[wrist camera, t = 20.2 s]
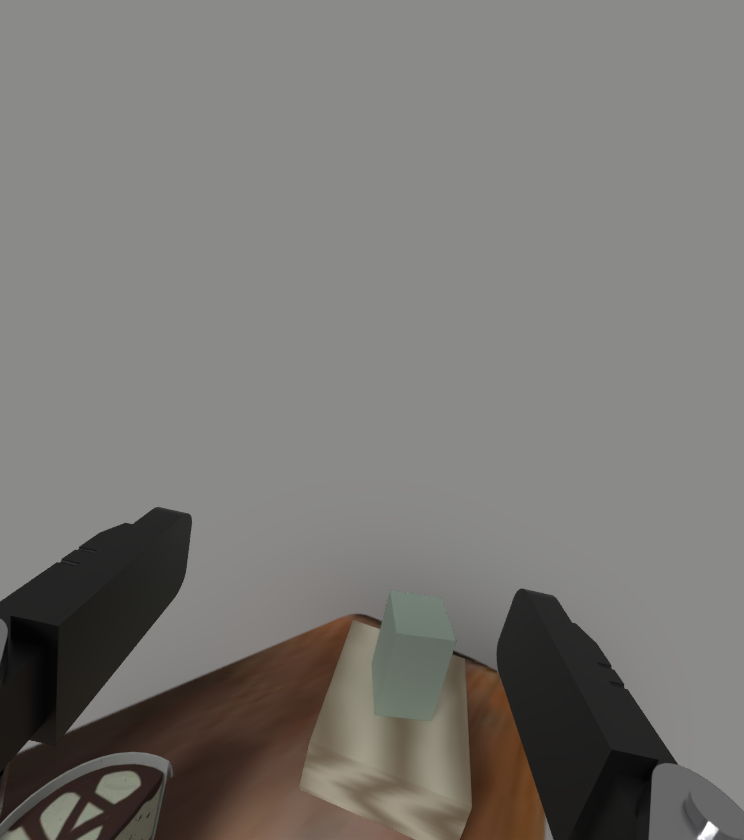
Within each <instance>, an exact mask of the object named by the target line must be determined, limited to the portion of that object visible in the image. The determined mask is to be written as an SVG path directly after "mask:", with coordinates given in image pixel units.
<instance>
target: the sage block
mask: <svg viewBox="0 0 744 840" xmlns="http://www.w3.org/2000/svg"><path fill="white" fill-rule="evenodd" d="M455 644H456V638H455V635H454V632H453V629H452V626H451V623H450V620H449V617H448V614H447V611H446V608H445V605H444V602H443V599H442V597H434V596H427V595H421V594H413V593H407V592H400V591H392V590H390V593H389V597H388V601H387V604H386V608H385V612H384V616H383V620H382V624H381V628H380V632H379V636H378V640H377V644H376V648H375V652H374V656H373V660H372V680H373V697H374V713H375V715H378V716H387V717H396V718H406V719H415V720H424V721H432V717H433V714H434V711H435V708H436V705H437V701H438V698H439V695H440V692H441V689H442V685H443V682H444V679H445V676H446V673H447V669H448V666H449V663H450V660H451V657H452V653H453V650H454V647H455Z"/></svg>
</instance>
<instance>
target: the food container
mask: <svg viewBox="0 0 744 840" xmlns="http://www.w3.org/2000/svg"><path fill="white" fill-rule="evenodd" d="M167 776H168V777H170V778H172V776H173V769H172V764H170V761H168V760H166V759H164V758H162V757H160V756H156V755H152V754H149V753H140V752H126V753H116V754H112V755H107V756H103V757H100V758H97V759H94V760H91V761H88V762H86V763H83V764H81V765H79V766H77V767H75V768H73V769H71V770H69V771H67V772H65V773H64V774H62V775H60V776H59V777H57V778H55V779H54V780H52V781H50V782H49V783H47V784H46V785H45V786H43V787H42V788H41V789H39V790H38V791H36V792H35V793H34V794H32V795H31V796H30V797H29V798H27V799H26V800H25V801H24V802H23V803H22V804H21V805H19V806H18V807H17V808H16V809H15V810H14V811H13V812H11V813H10V814H9V815H8V816H7V818H6V819H5V820H4V821H3V822H2V823H1V824H0V840H154V838H155V833H156V828H157V823H158V819H159V814H160V809H161V804H162V799H163V795H164V790H165V785H166V780H167Z"/></svg>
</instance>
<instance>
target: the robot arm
mask: <svg viewBox="0 0 744 840" xmlns="http://www.w3.org/2000/svg"><path fill="white" fill-rule="evenodd" d="M191 526H192V518H191V515H190V514H188V513H183V512H179V511H174V510H169V509H165V508H161V507H156V508H154V509H152V510H151V511H150V512H148V513H147V514H146V515H144V516H143V517H142V518H140V519H139V520H138V521H136V522H135V523H134V524H129V523H124V524H121V525H119V526H116V527H113V528H111V529H108V530H106V531H103V532H100V533H99V534H97V535H96V536H94V537H93V538H91V539H90V540H89V541H87V542H86V543H84V544H83V545H81V546H80V547H79V549H78V550H74V551H73V552H71V553H70V554H68V555H67V556H65V557H64V558H63V559H62V560H61V562H60V563H58V562H57V563H55V564H54V565H52V566H51V567H50V568H48V569H47V570H45V571H44V572H42V573H41V574H39V575H38V576H36V577H35V578H34V579H32V580H31V581H29V582H28V583H26V584H25V585H23V586H22V587H21V588H19V589H18V590H16V591H15V592H13V593H12V594H10V595H9V596H8V597H6V598H5V599H3V600H2V601H0V816H1V811H2V805H3V800H4V794H5V789H6V783H7V778H8V770H9V762H10V761H11V760H12V759H13V757H14V756H15V755H16V754H17V753H18V752H19V751H20V749H21V748H22V747H23V746H24V745H25V744H26V743H27V741H28V740H31V741H36V742H41V743H45V744H50V745H56V744H57V743H58V742H59V740H60V739H61V738H62V737H63V735H64V734H65V733H66V732H67V730H68V729H69V728H70V727H71V725H72V724H73V723H74V722H75V720H76V719H77V718H78V717H79V716H80V714H81V713H82V712H83V711H84V709H85V708H86V707H87V706H88V704H89V703H90V702H91V701H92V699H93V698H94V697H95V696H96V694H97V693H98V692H99V691H100V690H101V688H102V687H103V686H104V685H105V683H106V682H107V681H108V679H109V678H110V677H111V676H112V675H113V673H114V672H115V671H116V670H117V669H118V667H119V666H120V665H121V664H122V662H123V661H124V660H125V659H126V657H127V656H128V655H129V654H130V652H131V651H132V650H133V649H134V647H135V646H136V645H137V643H139V641H140V640H141V639H142V638H143V636H144V635H145V634H146V633H147V631H148V630H149V629H150V628H151V626H152V625H153V624H154V623H155V621H156V620H157V619H158V618H159V617H160V615H161V614H162V613H163V612H164V610H165V609H166V608H167V606H168V605H169V604H170V602H172V600H173V599H174V598H175V596H176V595H177V593H178V591H179V589H180V587H181V585H182V583H183V580H184V577H185V573H186V568H187V559H188V551H189V543H190V534H191ZM497 666H498V671H499V674H500V677H501V680H502V683H503V686H504V689H505V692H506V695H507V698H508V702H509V705H510V708H511V711H512V714H513V717H514V720H515V723H516V726H517V729H518V732H519V735H520V738H521V741H522V744H523V747H524V751H525V754H526V757H527V760H528V763H529V766H530V769H531V772H532V775H533V778H534V781H535V784H536V787H537V790H538V793H539V796H540V800H541V803H542V806H543V809H544V812H545V815H546V818H547V821H548V824H549V827H550V830H551V833H552V836H553V839H554V840H744V811H743V810H742V809H741V808H740V807H739V806H738V805H737V804H736V803H735V802H734V801H733V800H732V799H730V798H729V797H728V796H727V795H726V794H725V793H724V792H722V791H721V790H720V789H719V788H717V787H716V786H715V785H713V784H712V783H711V782H709V781H708V780H707V779H705V778H703V777H702V776H700V775H699V774H697V773H695V772H693V771H691V770H689V769H687V768H685V767H682V766H680V765H678V764H677V762H676V761H675V759H674V758H673V756H672V755H671V753H670V752H669V750H668V749H667V748H666V746H665V744H664V743H663V741H662V740H661V739H660V737H659V736H658V734H657V733H656V731H655V730H654V728H653V727H652V725H651V724H650V722H649V721H648V719H647V718H646V716H645V715H644V713H643V712H642V710H641V709H640V707H639V706H638V704H637V703H636V701H635V700H634V698H633V697H632V695H631V694H630V692H629V691H628V690H627V689H625V688H624V683H623V682H622V680H621V679H620V678H619V676H618V674H617V673H616V672H615V670H612V669H611V664H610V663H609V661H608V660H607V658H606V657H605V656H604V654H603V652H602V651H601V649H600V648H599V646H598V645H597V643H596V642H595V641H593V640H592V639H591V638H590V637H589V636H588V635H587V634H586V633H585V632H584V631H583V630H582V629H581V628H580V627H579V626H578V625H577V624H575V623H572V622H571V620H570V619H569V617H568V616H567V614H566V612H565V611H564V610H563V608H562V606H561V605H560V603H559V602H558V600H557V599H556V598H555V597H554V596H552V595H548V594H544V593H539V592H535V591H530V590H525V589H519V590H518V591H517V593H516V594H515V596H514V599H513V601H512V605H511V607H510V610H509V613H508V615H507V618H506V621H505V624H504V627H503V629H502V632H501V635H500V638H499V641H498V645H497Z"/></svg>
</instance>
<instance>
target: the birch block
mask: <svg viewBox="0 0 744 840" xmlns="http://www.w3.org/2000/svg"><path fill="white" fill-rule="evenodd" d="M379 632H380V629H378V628H375V627H372V626H369V625H366V624H363V623H361V622H358V621H355V620H353V622H352V624H351V627H350V630H349V633H348V636H347V638H346V641H345V644H344V647H343V650H342V652H341V655H340V658H339V661H338V664H337V666H336V669H335V672H334V675H333V678H332V680H331V683H330V686H329V689H328V692H327V694H326V697H325V700H324V703H323V706H322V708H321V711H320V714H319V717H318V720H317V722H316V725H315V728H314V731H313V734H312V736H311V739H310V742H309V747H308V751H307V755H306V760H305V764H304V768H303V772H302V777H301V781H300V785H299V789H300V790H302V791H304V792H307V793H309V794H311V795H314V796H316V797H318V798H321V799H323V800H325V801H328V802H330V803H332V804H334V805H337V806H339V807H341V808H344V809H346V810H348V811H351V812H353V813H355V814H358V815H360V816H362V817H365V818H367V819H369V820H372V821H374V822H376V823H378V824H381V825H383V826H385V827H388V828H390V829H392V830H395V831H397V832H399V833H402V834H404V835H406V836H409V837H411V838H413V839H415V840H460V838H461V835H462V833H463V830H464V827H465V825H466V822H467V820H468V817H469V814H470V812H471V809H472V795H471V774H470V753H469V732H468V711H467V690H466V670H465V659H464V658H461V657H458V656H455V655H452V657H451V660H450V663H449V666H448V669H447V673H446V676H445V679H444V682H443V685H442V689H441V692H440V695H439V698H438V701H437V705H436V708H435V711H434V714H433V717H432V721H424V720H415V719H406V718H396V717H387V716H378V715H375V713H374V697H373V680H372V660H373V656H374V652H375V648H376V644H377V640H378V636H379Z"/></svg>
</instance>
